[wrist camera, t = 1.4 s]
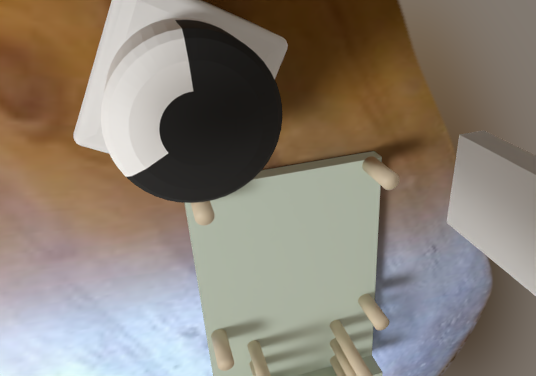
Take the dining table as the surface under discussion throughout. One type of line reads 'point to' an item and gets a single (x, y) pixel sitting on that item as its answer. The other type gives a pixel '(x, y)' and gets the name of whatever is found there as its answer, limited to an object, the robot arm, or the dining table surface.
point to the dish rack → (293, 269)
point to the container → (183, 98)
